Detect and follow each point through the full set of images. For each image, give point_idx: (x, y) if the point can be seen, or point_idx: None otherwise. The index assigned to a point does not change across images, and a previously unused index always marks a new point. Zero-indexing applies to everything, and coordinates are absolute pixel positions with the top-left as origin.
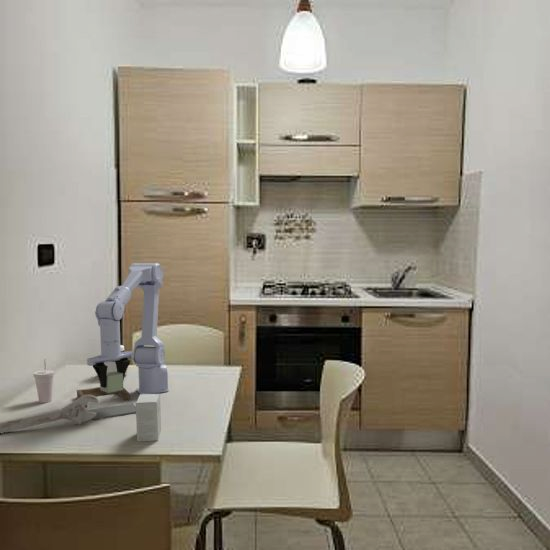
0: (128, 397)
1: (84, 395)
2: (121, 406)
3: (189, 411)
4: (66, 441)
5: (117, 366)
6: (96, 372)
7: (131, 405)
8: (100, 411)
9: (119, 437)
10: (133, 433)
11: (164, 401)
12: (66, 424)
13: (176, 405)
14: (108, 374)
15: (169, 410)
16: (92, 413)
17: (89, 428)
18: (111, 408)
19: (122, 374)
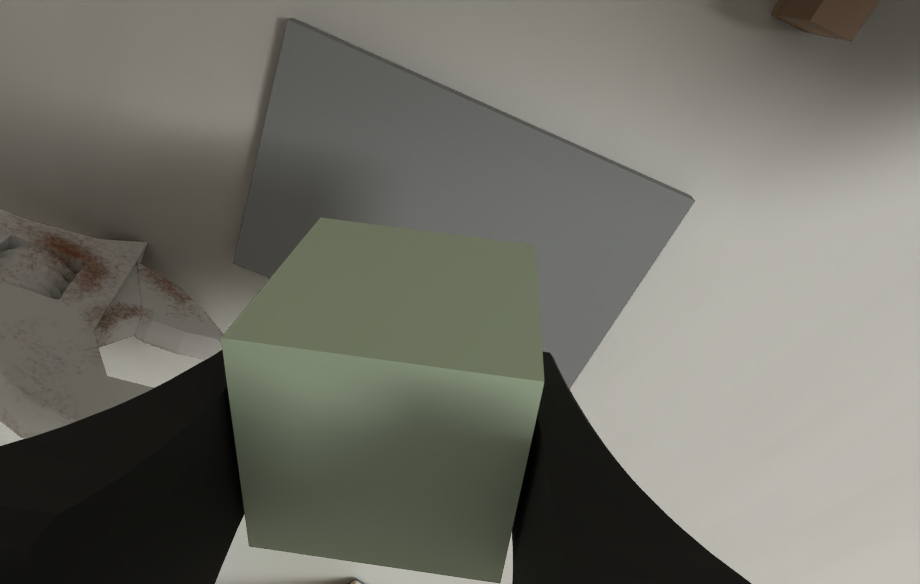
0: (817, 30)
1: (21, 406)
2: (565, 198)
3: (747, 574)
4: (5, 425)
5: (542, 542)
6: (97, 423)
7: (636, 245)
8: (360, 167)
9: (242, 556)
10: (317, 567)
11: (901, 335)
12: (52, 184)
13: (832, 461)
14: (315, 479)
15: (708, 490)
16: (181, 350)
17: (166, 368)
18: (472, 174)
19: (495, 568)
